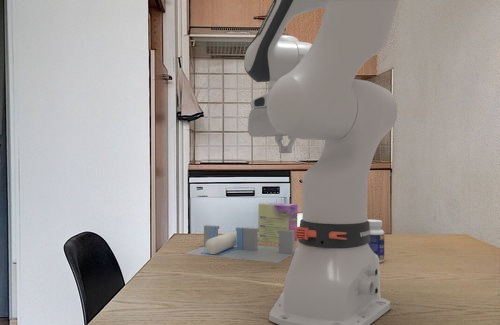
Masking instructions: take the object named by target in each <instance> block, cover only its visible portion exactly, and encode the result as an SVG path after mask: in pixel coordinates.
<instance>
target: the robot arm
mask: <svg viewBox="0 0 500 325" xmlns="http://www.w3.org/2000/svg"><path fill="white" fill-rule="evenodd" d="M399 1H400V0H273V1H272V3H271V4H270V7H269V9H268V10H267V13H266V14H265V17H264V19H263V21H262V23H261V25H260V27H259V29H258V31H257V33H256V34H255V36H254V37H253V39H252V40H251V42H250V43H249V45H248V46H247V48H246V51H245V54H244V66H243V67H244V70H245V73H247V75H248V76H249V77H250V78H251V79H252V80H253V81H255V82H256V83H266V82H267V83H268V86H267V93H265V94H263V95H261V96H258V97H256V98H253V99H251V101H250V108H252V109H251V110H250V111H249V113H248V120H247V134H248V135H249V136H250V137H253V138H265V137H274V140H275V143H276V144H277V146H278V147H279V150H278V151H279V154H292V153H293V146H294V144H295V142H296V140H297V139H299V140H310V141H311V140H315V141H316V140H317V141H324V145H323V150H322V153H321V155H320V157H319V159H318V160H317V162H316V163H315V164H313V165H312V166H310V167H309V168H308V169H307V170H306V171H305V172H304V174H303V177H302V181H301V182H302V185H301V186H302V187H301V188H302V189H301V190H302V199H301V200H302V203H301V204H302V206H301V207H302V208H301V211H302V219H301V220H300V222H299V226H297V228H296V229H297V230H296V231H295V232H296V233H295V234H296V235H295V236H296V239H297V241H298V242H299V243H298V246H297V247H296V248H295V249H296V250H295V254H293V255H292V256H293V257H292V260H291V261H290V265H289V267H288V270H287V273H286V275H285V278H284V283H283V284H284V285H283V290H282V292H281V293H280V295H279V297H278V298H277V300H276V302H275V303H274V305H273V306H272V308H271V309H270V311H269V313H268V321H270V322H272V323H274V324H277V325H372V323H373V322H375V321H376V320H378V319H379V318H380V317H382V316H383V315H385V314H386V313H387V312H388V311H389V310H391V308H392V305H391V301H390V300H388V299H385V298H383V297H381V296H382V295H381V279H380V278H381V276H380V263H379V257H378V256H377V255H376V254H375V253H374V252H373V251H372V250H371V248H370V246H369V244H368V243H369V242H370V223H369V221H368V220H369V219H368V191H369V190H368V188H369V175H370V171H371V167H372V162H373V159H374V157H375V154H376V151H377V149H378V147H379V144H380V143H381V141H382V140H383V138H384V137H385V136H386V135H387V134H389V132H390V131H391V130H392V128H393V127H394V126H395V123H396V121H397V117H398V103H397V100H396V98H395V96H394V94H393V93H392V92H391V91H390V90H389V89H388V88H385V87H383V86H381V85H380V84H379V85H378V84H377V83H374V82H373V81H369V80H364V79H358V78H356V76H357V74H358V73H359V71H360V69H361V68H362V67H363V66H364V64H365V63H366V62H367V61H368V60H370V59H371V58H372V57H374V56H376V55H378V54H380V53H381V52H382V51H383V50H384V48H385V47H386V45H387V43H388V40H389V36H390V32H391V30H392V29H391V28H392V25H393V23H394V18H395V15H396V12H397V8H398V4H399ZM320 9H321V10H322V9H324V12H323V15H322V18H321V22H320V26H319V29H318V31H317V34H316V36H315V39H314V40H313V41H312V42H313V43H310V42H307V41H306V42H305V41H300V40H299V39H298V37H296V36H293V35H286V34H285V35H283V33H284V32H285V30H286V28H287V25H288V24H289V23H290V22H291V21H292V20H293V19H294V18H296V17H298V16H299V15H302V14H306V13H308V12H311V11H316V10H320ZM284 136H285V137H286V136H287V138H288V140H289V141H288V144H287V145H284V144H283V142H282V141H283V140H284V139H283V137H284Z"/></svg>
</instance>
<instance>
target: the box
mask: <svg viewBox="0 0 500 325" xmlns="http://www.w3.org/2000/svg"><path fill="white" fill-rule="evenodd" d="M298 207H299V206H298V204H296V203H281V202H261V203H258V221H257V222H258V228H259V232H258V241H260V242H270V243H271V242H272V243H277V244H279V234H277V231H278V230H289V231H294V243H296V242H297V241H298V239H296V236H295V235H296V234H295V233H296V232H295V231H296V230H297V229H296V228H297V227H298Z"/></svg>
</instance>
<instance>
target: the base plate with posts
mask: <svg viewBox="0 0 500 325" xmlns="http://www.w3.org/2000/svg"><path fill="white" fill-rule="evenodd" d="M219 229H220V225H212V224H205V225H203V246H201V247H198V248H195V249H192V250H189V251H186V252H183V255H192V256H193V255H194V256H204V257H215V258H223V259H234V260H242V261H243V260H245V261H254V262H264V263H273V264H274V263H275V264H278V263H280V262H282V261H283V260H284V261H285V259H288V258H289V257H291V256H294V254H295V250H296V249H297V248H295V242H294V231H289V230H278V231H277V234H279V243H278V246H268V245H267V246H266V245H259V243H258V241H259V240H258V232H259V228H256V227H244V226H243V227H241V226H240V227H239V226H238V227H235V232H236V233H237V245H236V246H234V247H231V248H229V249H226V250H224V251H221V252H219V253H216V254H210V253H208V252H207V250H206V247H205V245H206V242H207V240H209V239H211V238H214V237H217V236H219Z"/></svg>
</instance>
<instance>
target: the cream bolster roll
mask: <svg viewBox="0 0 500 325" xmlns="http://www.w3.org/2000/svg"><path fill="white" fill-rule="evenodd" d="M236 245H237V232H236V231H229V232H226V233H223V234H220V235H218V236H217V237H214V238H211V239H209V240H207V242H206V245H205V247H206V250H207V252H208V253H210V254H216V253H219V252H221V251H224V250H226V249H229V248H231V247H234V246H236Z"/></svg>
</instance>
